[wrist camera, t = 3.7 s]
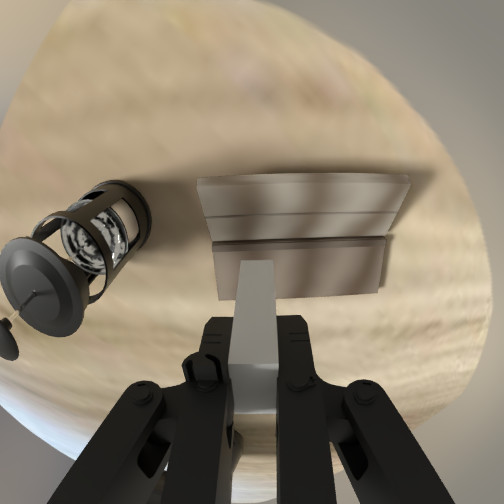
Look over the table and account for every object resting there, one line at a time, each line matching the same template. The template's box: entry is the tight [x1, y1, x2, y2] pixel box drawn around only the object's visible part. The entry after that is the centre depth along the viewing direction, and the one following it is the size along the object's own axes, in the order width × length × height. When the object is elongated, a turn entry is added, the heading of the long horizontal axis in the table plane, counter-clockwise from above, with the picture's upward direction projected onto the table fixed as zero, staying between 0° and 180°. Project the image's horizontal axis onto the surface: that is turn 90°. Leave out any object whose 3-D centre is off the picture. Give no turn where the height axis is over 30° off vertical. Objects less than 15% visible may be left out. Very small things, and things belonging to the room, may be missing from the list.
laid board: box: [212, 235, 386, 301], centre depth 36 cm, size 20×8×2 cm, turn 93°
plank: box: [196, 173, 411, 241], centre depth 31 cm, size 20×9×1 cm
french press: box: [0, 180, 151, 361], centre depth 25 cm, size 12×9×23 cm
